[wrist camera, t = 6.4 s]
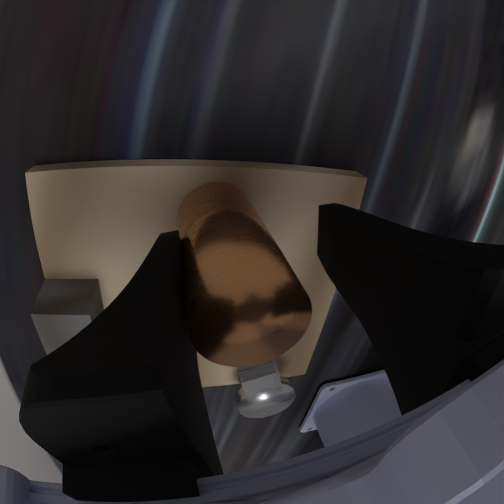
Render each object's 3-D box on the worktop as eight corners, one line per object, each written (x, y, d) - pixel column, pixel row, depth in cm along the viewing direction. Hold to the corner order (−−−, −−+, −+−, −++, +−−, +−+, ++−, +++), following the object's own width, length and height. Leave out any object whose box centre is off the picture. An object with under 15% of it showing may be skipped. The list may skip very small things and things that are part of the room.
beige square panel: (356, 171, 14) (398, 198, 12) (299, 365, 21) (316, 403, 18) (34, 165, 10) (-2, 195, 8) (86, 378, 17) (82, 422, 14)
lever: (287, 383, 20) (319, 460, 15) (237, 398, 19) (261, 478, 14) (250, 172, 12) (317, 256, 7) (162, 196, 11) (162, 300, 6)
